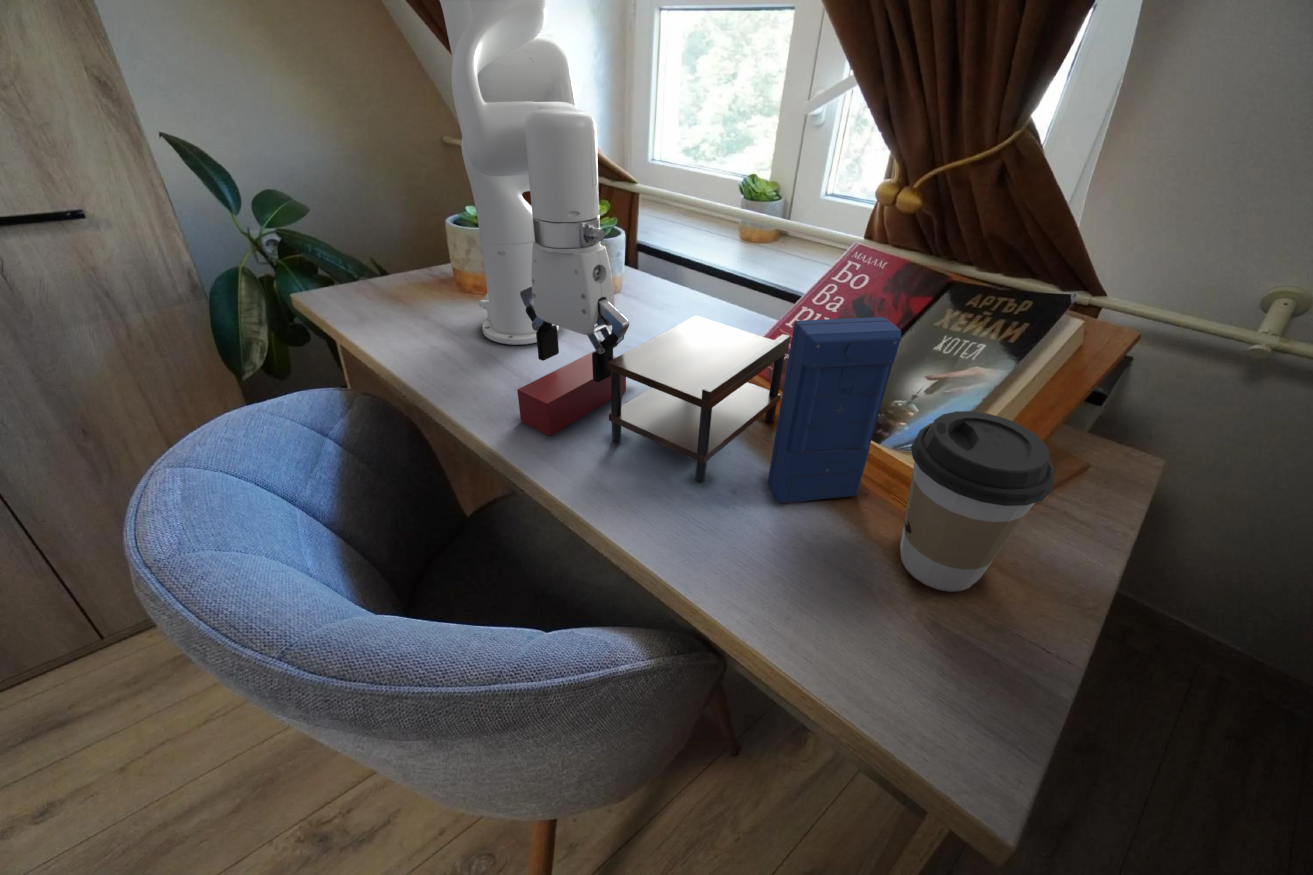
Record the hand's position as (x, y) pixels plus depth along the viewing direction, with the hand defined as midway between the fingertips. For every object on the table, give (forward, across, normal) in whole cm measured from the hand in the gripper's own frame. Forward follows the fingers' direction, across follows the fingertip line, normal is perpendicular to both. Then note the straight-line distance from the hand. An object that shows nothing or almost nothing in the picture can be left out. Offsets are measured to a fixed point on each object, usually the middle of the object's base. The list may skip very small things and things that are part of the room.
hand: (575, 367), depth 78 cm
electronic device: (+7, -32, -4) cm, 33 cm away
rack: (+6, -15, -6) cm, 18 cm away
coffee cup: (+8, -47, -1) cm, 48 cm away
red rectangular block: (+6, +1, 0) cm, 6 cm away
